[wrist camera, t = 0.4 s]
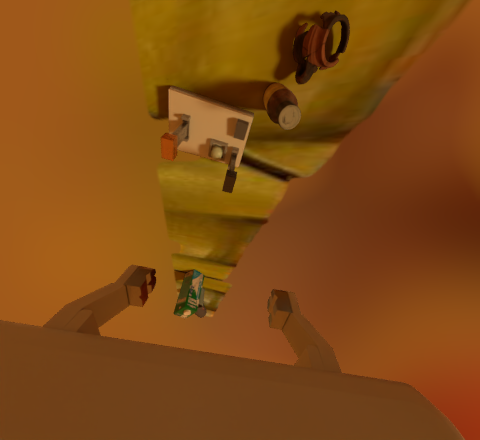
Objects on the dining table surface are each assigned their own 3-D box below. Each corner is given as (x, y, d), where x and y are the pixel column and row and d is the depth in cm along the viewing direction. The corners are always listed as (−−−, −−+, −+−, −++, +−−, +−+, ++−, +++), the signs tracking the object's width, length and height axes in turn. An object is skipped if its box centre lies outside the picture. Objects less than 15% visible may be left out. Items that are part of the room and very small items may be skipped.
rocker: (237, 118, 44) (237, 121, 43) (248, 122, 45) (248, 125, 44) (234, 134, 48) (233, 137, 47) (244, 137, 48) (243, 140, 47)
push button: (213, 143, 49) (211, 148, 47) (223, 146, 50) (222, 151, 47) (212, 153, 51) (210, 158, 49) (221, 156, 52) (220, 161, 50)
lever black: (231, 149, 51) (226, 175, 40) (239, 151, 51) (236, 178, 40) (228, 162, 54) (222, 190, 43) (235, 164, 54) (231, 193, 43)
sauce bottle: (259, 106, 47) (263, 130, 32) (267, 78, 42) (276, 91, 28) (282, 113, 48) (295, 140, 33) (292, 86, 43) (312, 102, 29)
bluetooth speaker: (208, 306, 155) (206, 318, 148) (198, 306, 157) (195, 318, 150) (200, 295, 140) (197, 309, 133) (189, 296, 141) (186, 309, 134)
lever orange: (182, 116, 46) (160, 137, 35) (191, 119, 46) (173, 141, 35) (181, 133, 49) (161, 157, 38) (190, 136, 49) (172, 160, 38)
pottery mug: (304, 3, 34) (339, -9, 29) (328, 35, 40) (361, 30, 35) (276, 74, 40) (301, 75, 35) (300, 93, 46) (325, 97, 40)
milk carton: (204, 275, 115) (196, 316, 97) (195, 278, 119) (185, 318, 101) (194, 269, 110) (183, 311, 92) (185, 273, 114) (173, 314, 96)
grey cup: (191, 286, 128) (186, 303, 119) (204, 286, 127) (201, 303, 119) (194, 292, 135) (190, 308, 126) (206, 292, 134) (203, 308, 126)
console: (173, 85, 44) (164, 89, 40) (253, 113, 48) (254, 119, 43) (172, 143, 55) (165, 151, 50) (239, 162, 58) (238, 171, 53)
